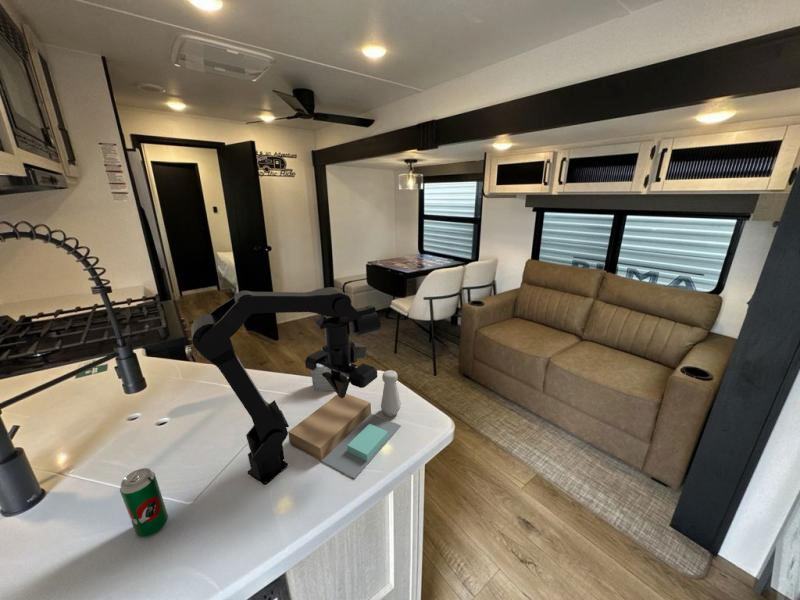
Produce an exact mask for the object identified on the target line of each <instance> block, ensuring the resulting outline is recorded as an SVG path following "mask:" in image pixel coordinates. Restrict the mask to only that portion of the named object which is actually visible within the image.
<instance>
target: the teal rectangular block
mask: <svg viewBox="0 0 800 600" xmlns="http://www.w3.org/2000/svg"><path fill="white" fill-rule="evenodd" d="M387 439H388V431H386V430H383V429H381V428H379V427H376V426H374V425H372V424H369V425H368V426H367V427H366V428H365V429H363V430H362V431H361V432H360V433H359V434H358V435H357V436H356V437H355V438H354V439H353V440H352V441H351V442H350V443H349V444H348V445H347V448H348V452H349V453H351V454H353V455H355V456H357V457H359V458H361V459H363V460H365V461H368V460H369V459H370V458H371V457H372V456H373V455H374V454H375V452H376V451H377V450H378V449H379V448H380V447H381V446H382V445H383V444H384V442H385V441H386V440H387Z"/></svg>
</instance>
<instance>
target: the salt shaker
mask: <svg viewBox="0 0 800 600" xmlns="http://www.w3.org/2000/svg"><path fill="white" fill-rule="evenodd" d="M398 377H399V376H398V373H397V372H396V371H395V370H391V369H389V370H385V371H384V372H382V377H381V378H382V381H383V383H384V384H383V389H382V398H381V402H380V403H381V404H380V408H381V411H382V412H383V414H384V415H385V416H387V417H390V418H391V417H394V416H395V417H396V416H397V414H398V412H399V411H400V409H401V405H402V402H401V399H400V394H399V389H398V386H397V381H398Z"/></svg>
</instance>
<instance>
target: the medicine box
mask: <svg viewBox="0 0 800 600" xmlns="http://www.w3.org/2000/svg"><path fill="white" fill-rule="evenodd" d="M316 366H317V368H316V369H315V370H310V372H311V380H312V389H313V391H324V392H326V391H329V392H333V391H334V392H335V390H334V389H333V387H332V386H331V385H330V383H329V382H328V381H327V380H326V378H325V377H323V376H322V374H323V373H324V368H323V366H324V365H321V364H318V363H317V364H316Z"/></svg>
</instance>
